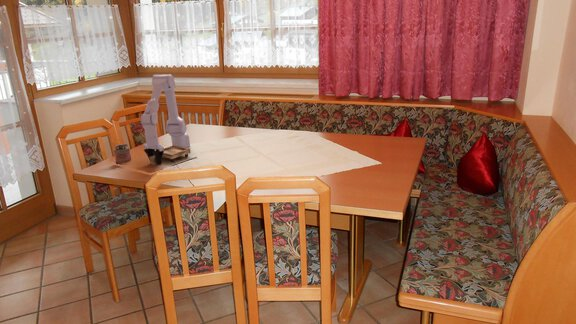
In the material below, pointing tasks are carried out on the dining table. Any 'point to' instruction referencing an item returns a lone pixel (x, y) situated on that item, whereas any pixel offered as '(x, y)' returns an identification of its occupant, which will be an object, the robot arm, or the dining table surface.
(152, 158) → the block
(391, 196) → the dining table surface
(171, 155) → the tray
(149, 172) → the dining table surface
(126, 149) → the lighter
